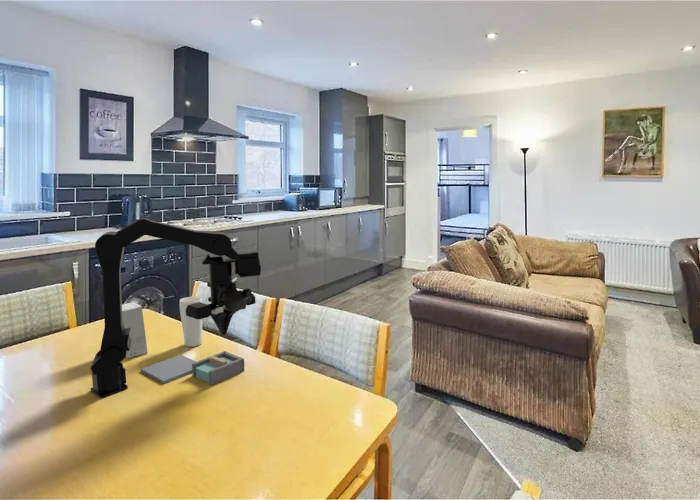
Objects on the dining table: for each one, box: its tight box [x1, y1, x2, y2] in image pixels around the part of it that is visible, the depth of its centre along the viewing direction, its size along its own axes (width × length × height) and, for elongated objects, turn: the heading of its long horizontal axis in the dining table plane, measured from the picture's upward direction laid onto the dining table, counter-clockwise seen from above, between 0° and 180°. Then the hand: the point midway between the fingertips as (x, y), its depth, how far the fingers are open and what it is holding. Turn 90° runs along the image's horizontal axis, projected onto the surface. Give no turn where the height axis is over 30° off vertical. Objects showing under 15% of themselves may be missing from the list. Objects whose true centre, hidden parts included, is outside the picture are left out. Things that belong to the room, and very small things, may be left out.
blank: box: [195, 355, 234, 384], centre depth 116 cm, size 9×6×4 cm, turn 145°
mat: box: [140, 354, 197, 385], centre depth 119 cm, size 12×12×1 cm
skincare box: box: [122, 301, 149, 359], centre depth 130 cm, size 8×6×15 cm
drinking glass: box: [179, 296, 203, 348], centre depth 136 cm, size 7×7×15 cm
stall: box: [191, 350, 245, 386], centre depth 117 cm, size 11×9×4 cm
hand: (223, 334), depth 117 cm, fingers closed
